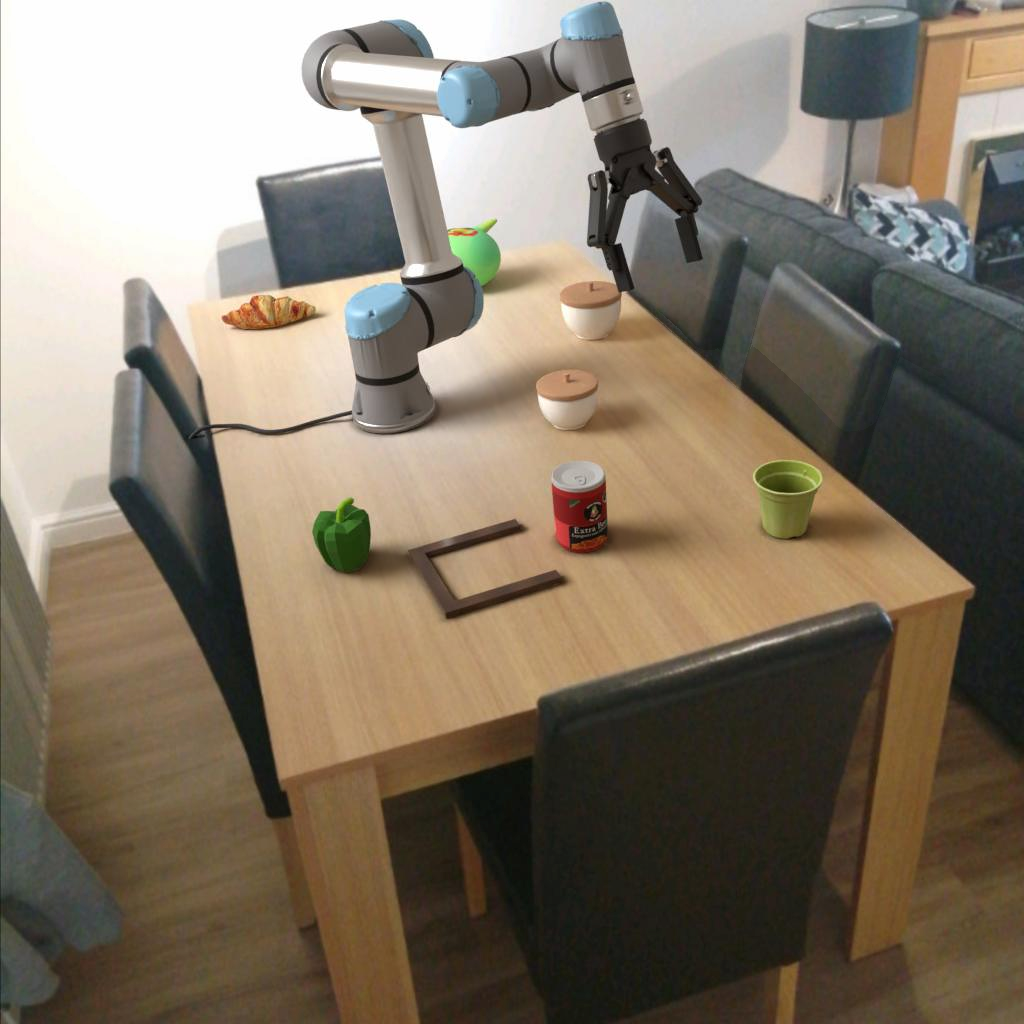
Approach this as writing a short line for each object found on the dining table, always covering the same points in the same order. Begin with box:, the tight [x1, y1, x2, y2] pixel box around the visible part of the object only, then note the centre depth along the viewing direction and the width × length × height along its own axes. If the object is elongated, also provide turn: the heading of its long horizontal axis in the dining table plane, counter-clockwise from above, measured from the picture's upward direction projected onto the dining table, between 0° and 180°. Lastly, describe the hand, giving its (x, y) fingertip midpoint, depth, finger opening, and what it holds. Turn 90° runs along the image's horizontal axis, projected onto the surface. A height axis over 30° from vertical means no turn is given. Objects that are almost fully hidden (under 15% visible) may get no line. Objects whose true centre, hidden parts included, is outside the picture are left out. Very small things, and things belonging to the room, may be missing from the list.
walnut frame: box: [407, 518, 563, 619], centre depth 147 cm, size 17×17×1 cm
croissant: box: [221, 294, 317, 330], centre depth 237 cm, size 21×10×8 cm, turn 101°
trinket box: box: [535, 369, 599, 431], centre depth 181 cm, size 11×11×9 cm
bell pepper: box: [311, 496, 372, 573], centre depth 149 cm, size 8×8×10 cm
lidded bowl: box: [559, 280, 623, 341], centre depth 214 cm, size 13×13×11 cm
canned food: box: [550, 460, 609, 554], centre depth 149 cm, size 8×8×11 cm
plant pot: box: [752, 459, 824, 540], centre depth 147 cm, size 9×9×9 cm
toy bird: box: [447, 218, 502, 287], centre depth 243 cm, size 18×17×15 cm
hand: (661, 275), depth 148 cm, fingers open, 13 cm apart
